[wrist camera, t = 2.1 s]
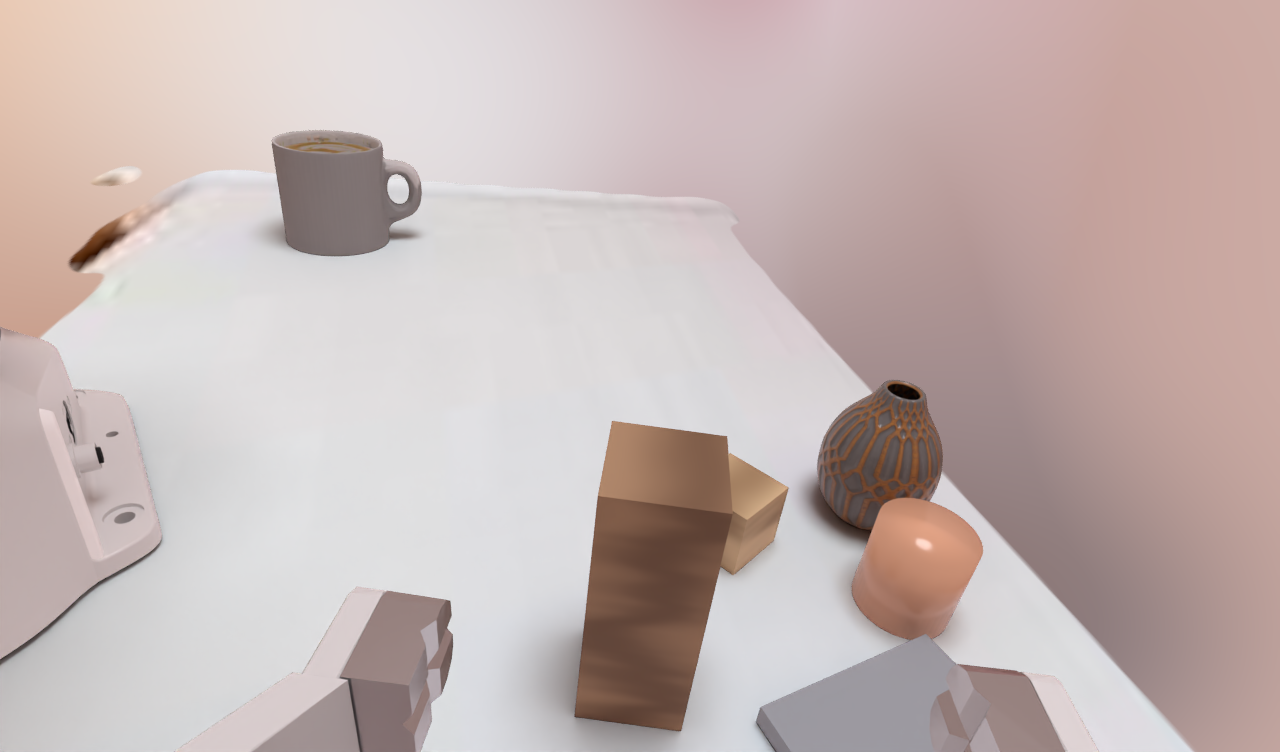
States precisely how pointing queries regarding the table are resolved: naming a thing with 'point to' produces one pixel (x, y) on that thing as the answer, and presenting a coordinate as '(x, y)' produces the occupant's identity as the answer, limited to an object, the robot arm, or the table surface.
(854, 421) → the vase
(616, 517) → the walnut block
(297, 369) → the table surface
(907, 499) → the peach rounded cylinder
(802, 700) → the grey pad
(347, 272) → the table surface
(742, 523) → the oak cube
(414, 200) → the coffee mug
